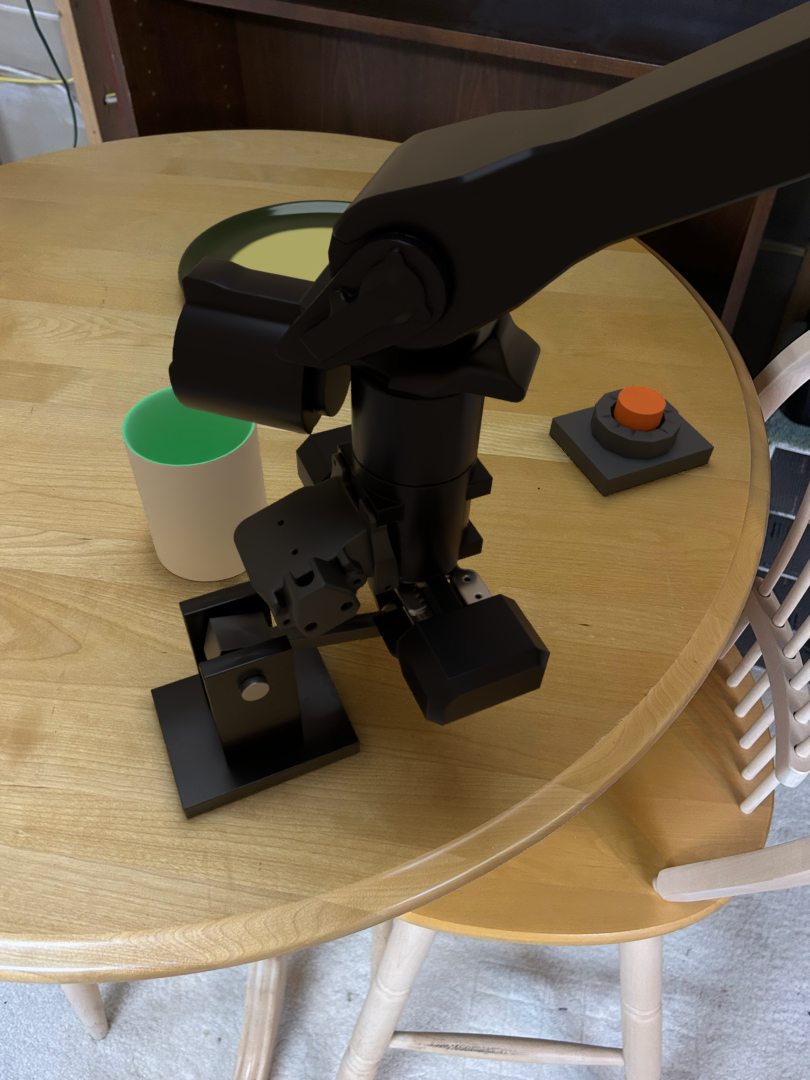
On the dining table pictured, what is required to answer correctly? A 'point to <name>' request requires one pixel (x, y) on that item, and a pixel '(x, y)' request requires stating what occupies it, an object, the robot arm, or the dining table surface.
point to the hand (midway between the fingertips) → (403, 645)
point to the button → (639, 408)
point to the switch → (247, 711)
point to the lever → (286, 631)
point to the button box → (627, 446)
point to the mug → (194, 483)
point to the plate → (271, 239)
